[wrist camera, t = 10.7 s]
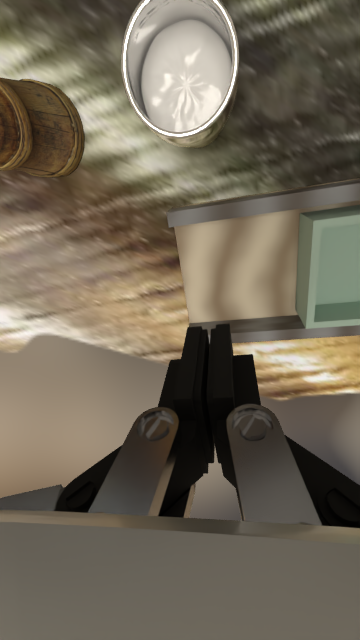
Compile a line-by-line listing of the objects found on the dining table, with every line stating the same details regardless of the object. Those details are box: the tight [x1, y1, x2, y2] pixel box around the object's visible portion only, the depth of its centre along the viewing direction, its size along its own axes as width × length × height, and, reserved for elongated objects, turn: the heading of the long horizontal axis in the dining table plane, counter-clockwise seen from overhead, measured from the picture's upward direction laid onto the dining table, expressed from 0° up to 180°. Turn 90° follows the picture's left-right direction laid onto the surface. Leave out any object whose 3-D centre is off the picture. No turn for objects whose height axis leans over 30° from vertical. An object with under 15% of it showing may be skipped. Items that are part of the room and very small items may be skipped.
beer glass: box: [121, 0, 239, 148], centre depth 21 cm, size 7×7×15 cm
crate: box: [295, 205, 360, 329], centre depth 30 cm, size 10×12×5 cm
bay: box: [167, 178, 360, 343], centre depth 32 cm, size 26×17×6 cm, turn 99°
